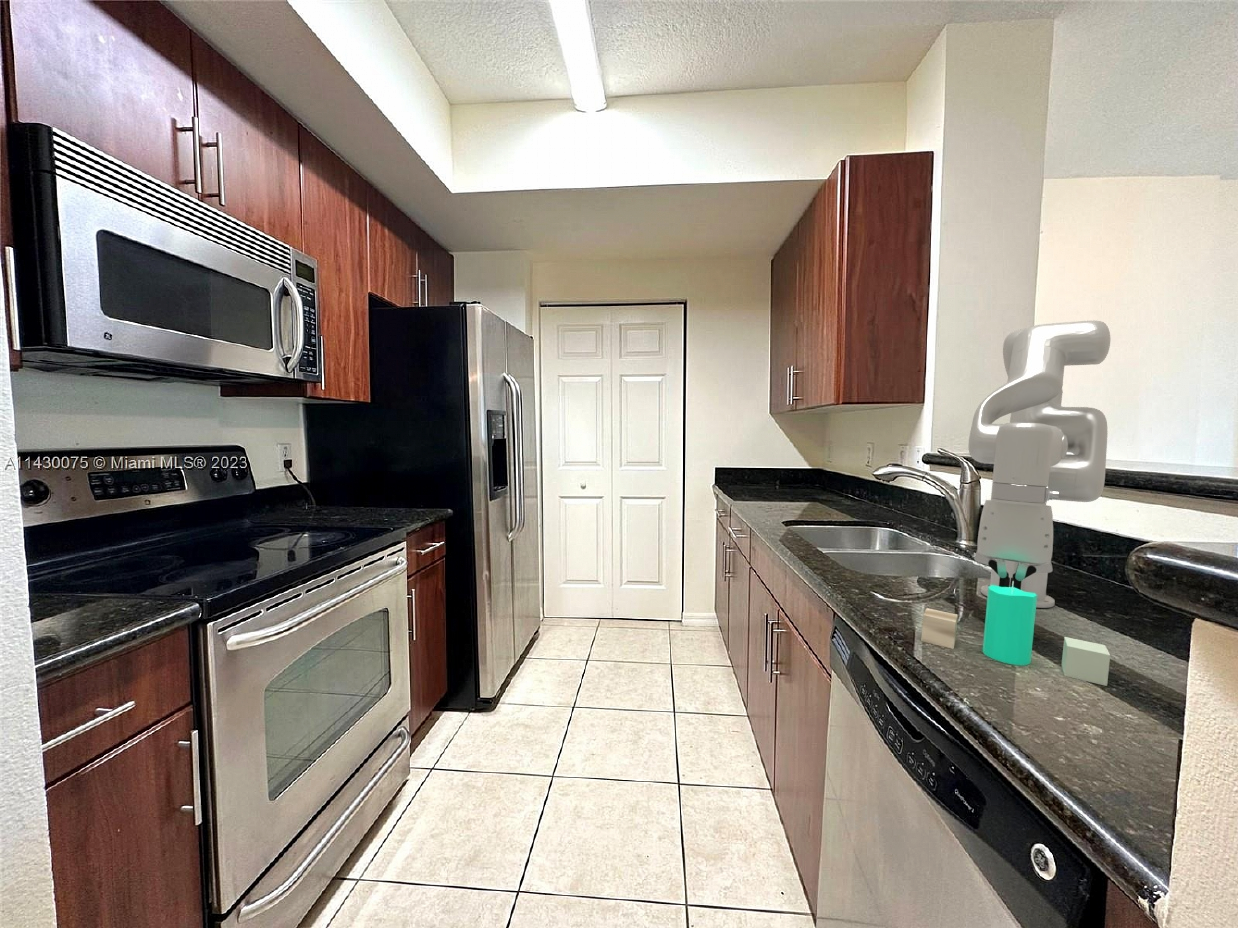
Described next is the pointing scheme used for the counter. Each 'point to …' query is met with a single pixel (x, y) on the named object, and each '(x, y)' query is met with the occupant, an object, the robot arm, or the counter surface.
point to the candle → (1009, 625)
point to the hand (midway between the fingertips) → (1008, 600)
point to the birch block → (939, 628)
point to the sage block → (1085, 661)
